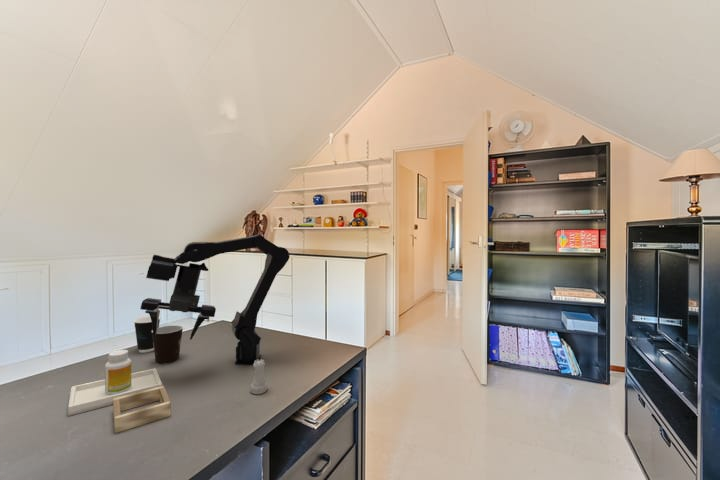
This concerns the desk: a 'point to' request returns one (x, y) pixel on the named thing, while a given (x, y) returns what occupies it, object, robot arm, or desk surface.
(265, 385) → the rook chess piece
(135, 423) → the holder sleeve
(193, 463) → the desk surface
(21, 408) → the desk surface
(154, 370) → the tray
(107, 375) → the supplement bottle
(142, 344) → the dixie cup
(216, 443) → the desk surface
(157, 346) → the brown paper tapered cylinder
